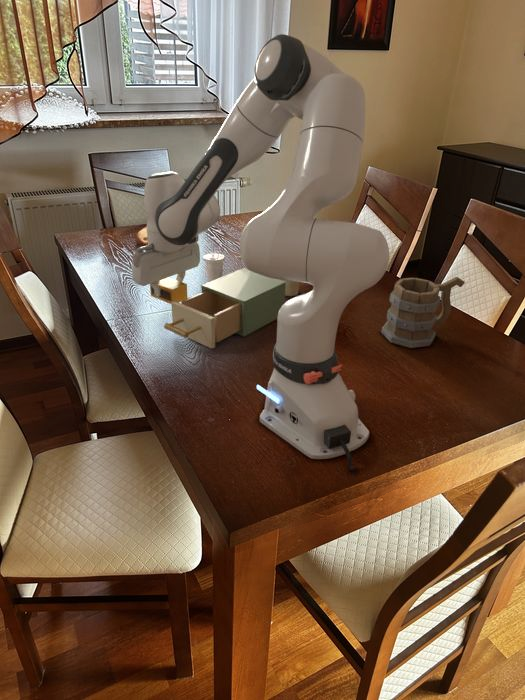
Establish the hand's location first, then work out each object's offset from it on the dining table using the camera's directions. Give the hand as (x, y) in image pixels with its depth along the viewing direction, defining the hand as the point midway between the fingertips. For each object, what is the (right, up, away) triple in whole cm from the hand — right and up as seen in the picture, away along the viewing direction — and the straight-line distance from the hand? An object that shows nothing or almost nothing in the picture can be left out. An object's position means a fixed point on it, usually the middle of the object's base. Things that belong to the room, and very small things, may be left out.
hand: (168, 291), depth 137 cm
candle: (+33, +2, +20) cm, 38 cm away
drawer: (+10, -11, -5) cm, 16 cm away
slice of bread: (-17, +27, +61) cm, 69 cm away
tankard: (+66, -11, 0) cm, 67 cm away
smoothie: (+10, +4, +23) cm, 25 cm away
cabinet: (+19, -6, +5) cm, 21 cm away
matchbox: (0, -2, +1) cm, 2 cm away
